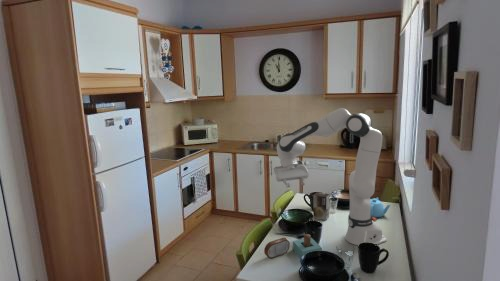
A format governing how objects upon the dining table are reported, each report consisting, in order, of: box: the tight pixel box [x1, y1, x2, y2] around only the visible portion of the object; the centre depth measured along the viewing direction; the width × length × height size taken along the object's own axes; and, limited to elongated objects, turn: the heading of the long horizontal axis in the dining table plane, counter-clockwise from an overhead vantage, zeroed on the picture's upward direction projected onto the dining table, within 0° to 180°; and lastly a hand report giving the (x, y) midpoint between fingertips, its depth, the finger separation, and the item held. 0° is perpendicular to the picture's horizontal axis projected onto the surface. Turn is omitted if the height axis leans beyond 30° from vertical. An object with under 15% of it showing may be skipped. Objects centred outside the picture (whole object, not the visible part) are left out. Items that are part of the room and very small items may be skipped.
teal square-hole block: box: [292, 237, 323, 259], centre depth 166 cm, size 11×11×5 cm
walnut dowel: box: [303, 233, 312, 248], centre depth 165 cm, size 4×4×10 cm
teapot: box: [370, 197, 391, 219], centre depth 211 cm, size 15×15×11 cm
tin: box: [263, 237, 291, 259], centre depth 164 cm, size 15×3×8 cm, turn 121°
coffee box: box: [312, 191, 331, 221], centre depth 207 cm, size 9×6×16 cm
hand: (295, 185), depth 183 cm, fingers open, 8 cm apart
